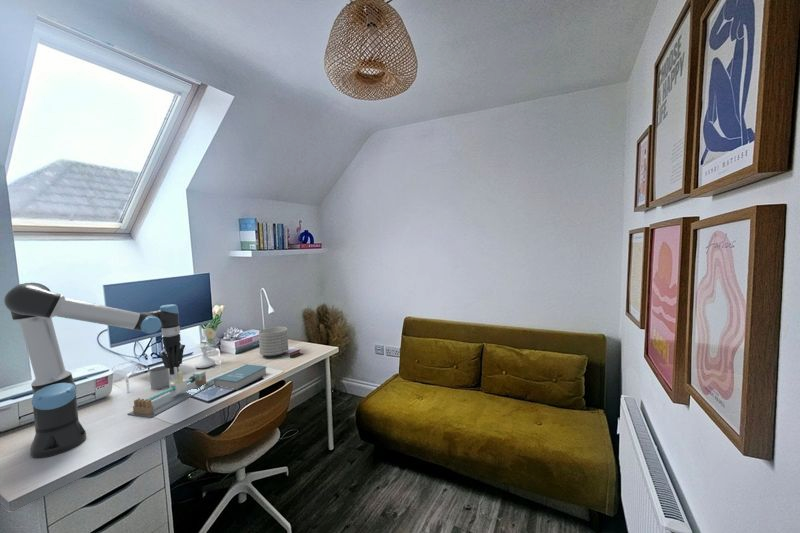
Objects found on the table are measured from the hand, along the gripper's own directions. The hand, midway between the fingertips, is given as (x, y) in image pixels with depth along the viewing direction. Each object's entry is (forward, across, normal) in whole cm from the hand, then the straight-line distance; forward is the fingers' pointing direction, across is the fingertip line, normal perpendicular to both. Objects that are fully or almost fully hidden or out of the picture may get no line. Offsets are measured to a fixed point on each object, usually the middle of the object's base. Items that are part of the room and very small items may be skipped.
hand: (174, 379), depth 166 cm
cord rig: (+10, -1, 0) cm, 10 cm away
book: (+11, +26, -18) cm, 33 cm away
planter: (+10, +68, -10) cm, 70 cm away
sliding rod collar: (+6, +2, 0) cm, 7 cm away
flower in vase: (+10, +41, +22) cm, 47 cm away
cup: (+10, +10, +23) cm, 27 cm away
